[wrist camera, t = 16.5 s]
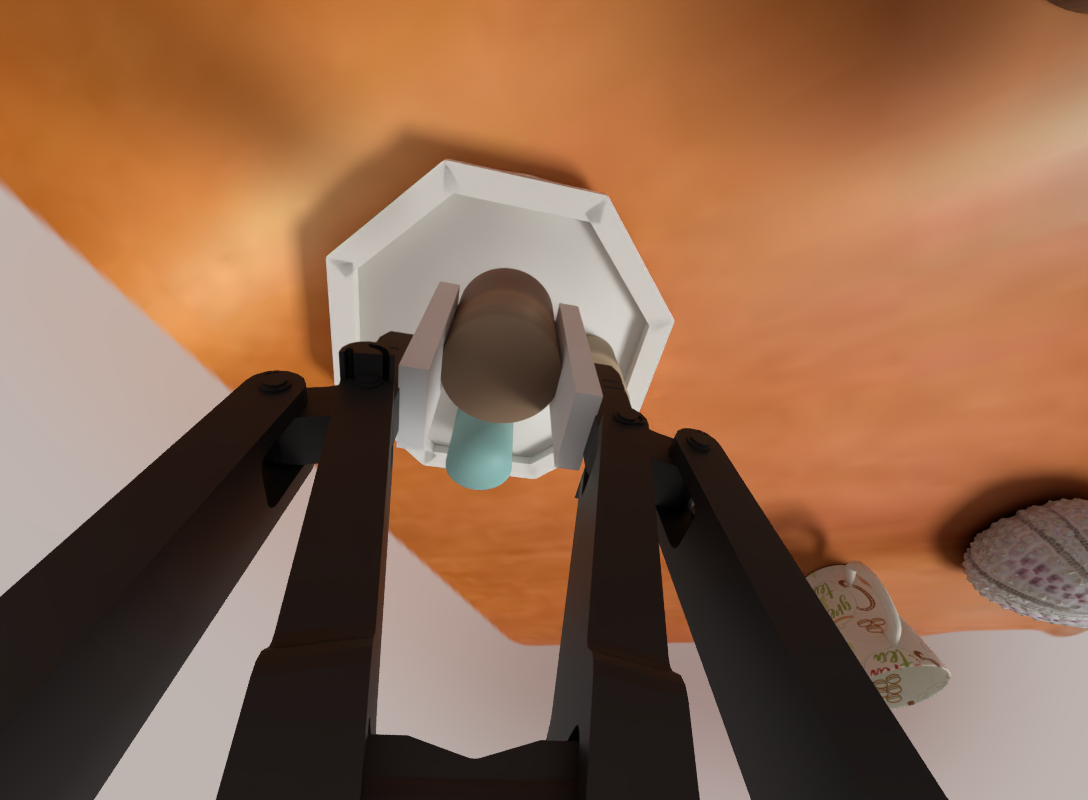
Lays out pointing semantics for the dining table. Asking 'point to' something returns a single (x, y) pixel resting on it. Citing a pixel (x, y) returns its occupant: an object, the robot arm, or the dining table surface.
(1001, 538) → the sea urchin shell
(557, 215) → the groove tray
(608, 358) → the beige wooden cylinder
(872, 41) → the dining table surface
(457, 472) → the teal bead
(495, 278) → the walnut bead
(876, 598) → the mug
